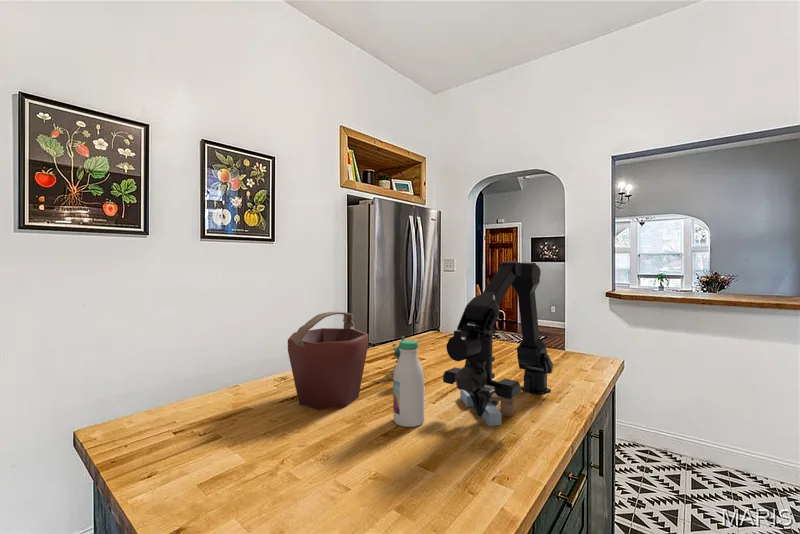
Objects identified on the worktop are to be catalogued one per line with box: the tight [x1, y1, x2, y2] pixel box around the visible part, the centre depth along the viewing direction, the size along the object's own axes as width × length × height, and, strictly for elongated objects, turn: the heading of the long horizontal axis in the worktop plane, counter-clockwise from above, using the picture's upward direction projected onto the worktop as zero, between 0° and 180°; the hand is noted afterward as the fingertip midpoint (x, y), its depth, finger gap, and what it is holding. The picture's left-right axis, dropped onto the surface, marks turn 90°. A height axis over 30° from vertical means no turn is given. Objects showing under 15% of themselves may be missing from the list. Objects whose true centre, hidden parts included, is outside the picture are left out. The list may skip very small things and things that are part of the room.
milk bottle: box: [392, 339, 425, 428], centre depth 95 cm, size 8×8×20 cm
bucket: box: [287, 311, 369, 411], centre depth 111 cm, size 24×22×25 cm
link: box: [459, 389, 502, 427], centre depth 102 cm, size 19×7×3 cm, turn 6°
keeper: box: [490, 393, 514, 417], centre depth 100 cm, size 4×7×6 cm, turn 77°
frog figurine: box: [382, 335, 405, 381], centre depth 134 cm, size 10×18×15 cm, turn 129°
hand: (479, 416), depth 95 cm, fingers closed
